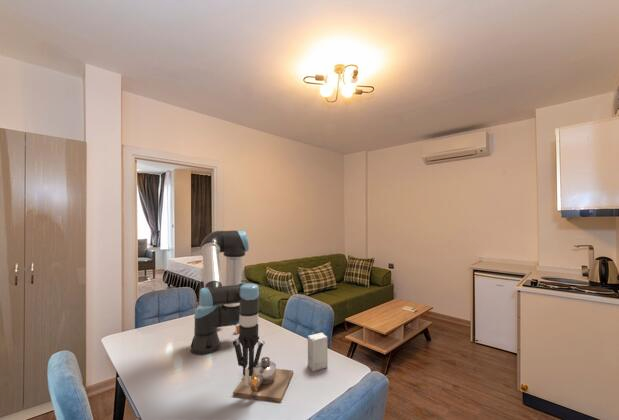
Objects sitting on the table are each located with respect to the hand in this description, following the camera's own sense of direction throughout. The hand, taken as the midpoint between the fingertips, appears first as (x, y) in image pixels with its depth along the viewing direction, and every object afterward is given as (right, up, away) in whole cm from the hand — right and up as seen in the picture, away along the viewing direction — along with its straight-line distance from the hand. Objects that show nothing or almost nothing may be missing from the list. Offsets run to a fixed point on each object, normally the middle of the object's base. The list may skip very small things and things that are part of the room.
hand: (247, 383), depth 110 cm
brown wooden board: (+6, -6, +8) cm, 11 cm away
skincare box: (+28, -6, +22) cm, 37 cm away
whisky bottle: (-32, -8, +67) cm, 75 cm away
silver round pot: (+5, -2, +5) cm, 7 cm away
